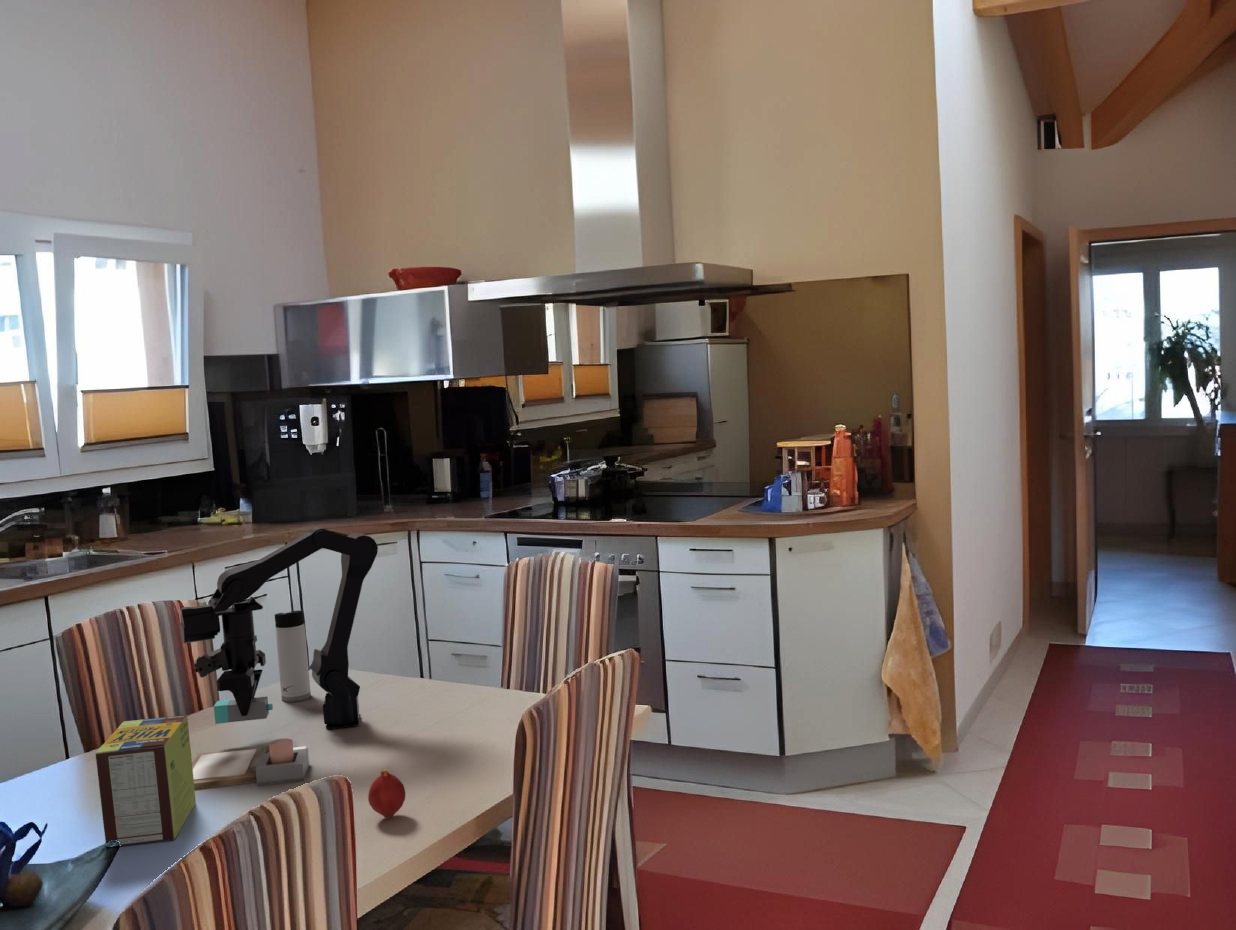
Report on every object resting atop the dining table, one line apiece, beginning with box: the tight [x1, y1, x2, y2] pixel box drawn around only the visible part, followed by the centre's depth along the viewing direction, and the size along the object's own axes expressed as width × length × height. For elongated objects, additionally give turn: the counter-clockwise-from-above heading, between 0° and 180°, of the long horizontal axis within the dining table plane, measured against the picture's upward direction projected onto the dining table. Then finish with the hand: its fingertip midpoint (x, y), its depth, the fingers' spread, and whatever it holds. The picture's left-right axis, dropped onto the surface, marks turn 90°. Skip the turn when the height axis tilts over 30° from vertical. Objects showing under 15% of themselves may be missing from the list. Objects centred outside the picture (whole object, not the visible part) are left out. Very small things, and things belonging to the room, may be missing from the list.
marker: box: [213, 696, 274, 725], centre depth 211 cm, size 10×4×4 cm, turn 100°
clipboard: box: [192, 745, 270, 790], centre depth 198 cm, size 13×16×2 cm
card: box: [293, 745, 307, 750], centre depth 204 cm, size 6×5×1 cm
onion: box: [367, 769, 406, 819], centre depth 172 cm, size 6×6×8 cm
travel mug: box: [274, 609, 312, 703], centre depth 239 cm, size 6×7×20 cm
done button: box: [268, 738, 294, 765], centre depth 193 cm, size 4×4×4 cm
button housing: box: [256, 748, 310, 787], centre depth 193 cm, size 8×8×3 cm
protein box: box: [95, 714, 196, 848], centre depth 174 cm, size 10×15×16 cm
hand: (246, 712), depth 211 cm, fingers closed on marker, 3 cm apart
